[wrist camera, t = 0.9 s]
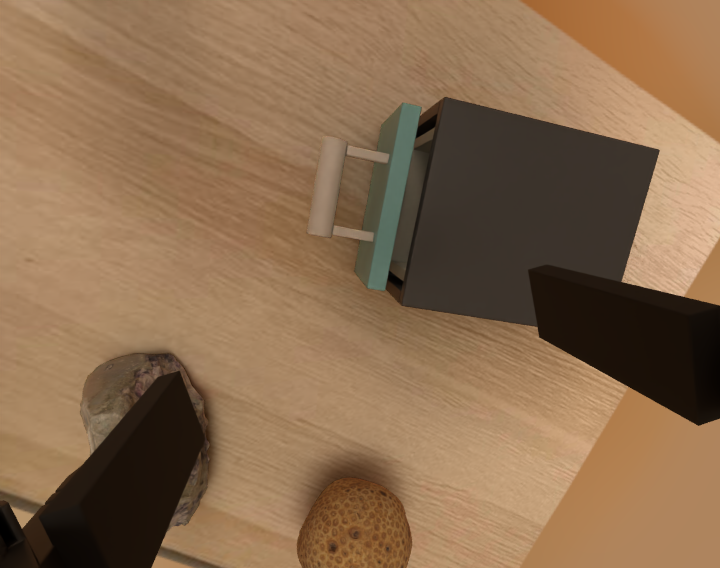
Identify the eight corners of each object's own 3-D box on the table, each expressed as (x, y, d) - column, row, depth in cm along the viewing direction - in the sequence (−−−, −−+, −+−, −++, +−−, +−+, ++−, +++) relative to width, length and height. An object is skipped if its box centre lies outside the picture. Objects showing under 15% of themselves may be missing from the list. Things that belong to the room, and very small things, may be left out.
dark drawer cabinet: (377, 281, 34) (401, 306, 26) (407, 124, 32) (444, 96, 24) (536, 307, 37) (605, 337, 28) (574, 163, 35) (660, 149, 26)
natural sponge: (416, 475, 38) (456, 567, 28) (365, 551, 39) (386, 666, 29) (333, 432, 36) (345, 516, 26) (281, 513, 37) (273, 623, 27)
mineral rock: (200, 507, 36) (161, 620, 26) (68, 477, 34) (-28, 587, 24) (247, 373, 34) (225, 440, 24) (113, 333, 32) (29, 389, 22)
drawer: (300, 262, 32) (299, 277, 26) (325, 111, 30) (331, 85, 24) (509, 297, 35) (556, 318, 28) (543, 161, 33) (602, 150, 27)
